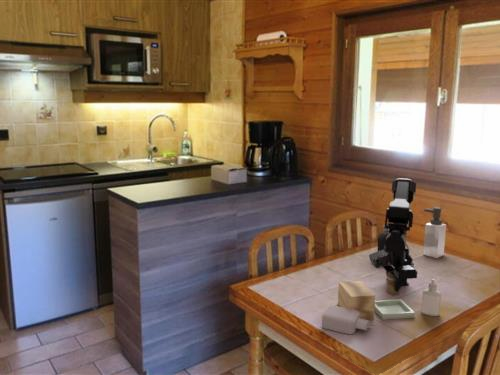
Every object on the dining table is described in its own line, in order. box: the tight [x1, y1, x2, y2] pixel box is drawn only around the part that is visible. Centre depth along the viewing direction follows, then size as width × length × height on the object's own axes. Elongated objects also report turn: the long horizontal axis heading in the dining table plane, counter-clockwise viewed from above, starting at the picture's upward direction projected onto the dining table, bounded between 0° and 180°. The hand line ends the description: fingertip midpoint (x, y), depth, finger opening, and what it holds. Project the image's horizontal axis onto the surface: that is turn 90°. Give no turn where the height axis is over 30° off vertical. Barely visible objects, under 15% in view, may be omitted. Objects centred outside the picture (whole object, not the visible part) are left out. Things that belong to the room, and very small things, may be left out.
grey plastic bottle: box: [321, 304, 376, 335], centre depth 142 cm, size 5×9×15 cm
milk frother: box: [377, 223, 415, 266], centre depth 199 cm, size 14×16×15 cm
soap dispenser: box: [422, 206, 447, 259], centre depth 208 cm, size 6×9×22 cm
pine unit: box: [337, 280, 376, 320], centre depth 153 cm, size 8×12×8 cm, turn 8°
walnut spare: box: [386, 271, 401, 296], centre depth 152 cm, size 4×4×7 cm
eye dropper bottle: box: [420, 278, 442, 317], centre depth 151 cm, size 4×6×12 cm
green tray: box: [374, 298, 416, 321], centre depth 153 cm, size 11×10×2 cm
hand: (393, 288), depth 152 cm, fingers closed on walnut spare, 4 cm apart
